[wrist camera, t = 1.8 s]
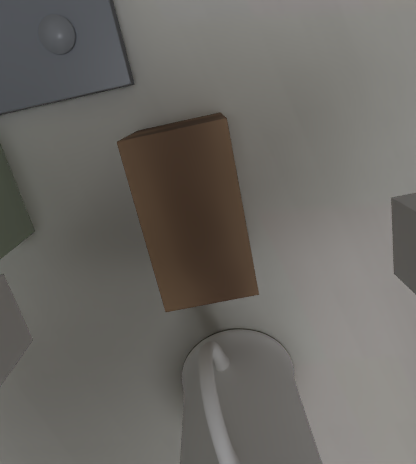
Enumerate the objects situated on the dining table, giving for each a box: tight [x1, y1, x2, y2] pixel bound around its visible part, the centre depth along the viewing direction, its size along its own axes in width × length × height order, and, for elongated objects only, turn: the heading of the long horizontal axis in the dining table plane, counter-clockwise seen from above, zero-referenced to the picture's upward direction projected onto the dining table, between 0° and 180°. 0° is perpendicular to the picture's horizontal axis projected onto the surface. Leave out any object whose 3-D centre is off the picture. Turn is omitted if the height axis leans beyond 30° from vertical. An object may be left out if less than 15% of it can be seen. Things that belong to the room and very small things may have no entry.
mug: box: [180, 329, 322, 464], centre depth 22 cm, size 12×8×12 cm
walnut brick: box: [117, 113, 259, 312], centre depth 21 cm, size 5×9×6 cm, turn 12°
